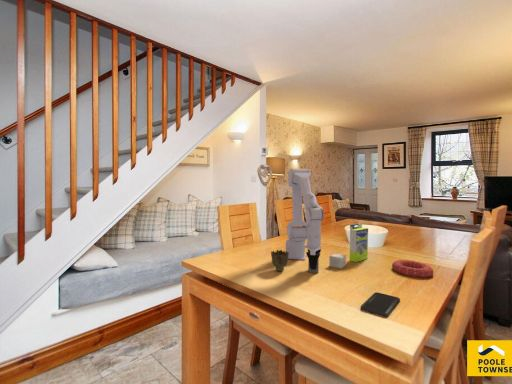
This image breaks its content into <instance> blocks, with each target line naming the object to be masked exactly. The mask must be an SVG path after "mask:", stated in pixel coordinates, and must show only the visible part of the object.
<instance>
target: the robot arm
mask: <svg viewBox="0 0 512 384" xmlns="http://www.w3.org/2000/svg"><path fill="white" fill-rule="evenodd" d="M287 177H288V178H287V179H288V180H287V182H288V186H289V187H291V195H292V198H291V199H292V202H291V203H292V219H291V220H290V221H289V222H288V223H287V225H286V226H287V228H286V236H287V239H285V252H286V251H287V252H289V254H288V260H289V259H290V260H301V261H305V260H306V258H307V259H308V264H309V263H310V268H311V269H313V270H316V267H317V261H318V258H319V257H320V256H321V252H322V245H321V244H322V221H323V220H324V214H325V212H324V210H323V207H322V206H321V205H319V204H318V200H317V197H316V195H315V194H314V193H312V188H311V183H310V181H311V179H312V172H311V170H310V169H309V168H290V169H289V171H288V173H287ZM303 205H304V208H305V212H304V218H305V221H304V220H303V219H304V218H303ZM306 249H307V251H306ZM319 259H320V258H319Z"/></svg>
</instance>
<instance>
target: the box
mask: <svg viewBox="0 0 512 384" xmlns="http://www.w3.org/2000/svg"><path fill="white" fill-rule="evenodd" d="M368 247H369V228H368V227H364V226H363V223H362V222H358V223H353V224H349V262H352V263H358V262H361V261H364V260H367V259H368V250H369V249H368Z"/></svg>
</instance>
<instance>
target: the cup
mask: <svg viewBox="0 0 512 384" xmlns="http://www.w3.org/2000/svg"><path fill="white" fill-rule="evenodd" d="M270 254H271V263H272V265H273V266H274V267H275V271H277V272H283V271H285V267H287V264H288V261H289V259H288V254H289V252H287V251H286V250H282V249H280V250H278V249H276V251H274V250H273V251H271V252H270Z"/></svg>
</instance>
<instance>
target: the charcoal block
mask: <svg viewBox="0 0 512 384" xmlns="http://www.w3.org/2000/svg"><path fill="white" fill-rule="evenodd" d="M319 260H320V258H318V261H317V267H316V270H313V269H311V268H310V263H309V262H308V268H307V269H308V271H307V272H308V273H315V274H316V273H317V274H319V265H320V264H319Z"/></svg>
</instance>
